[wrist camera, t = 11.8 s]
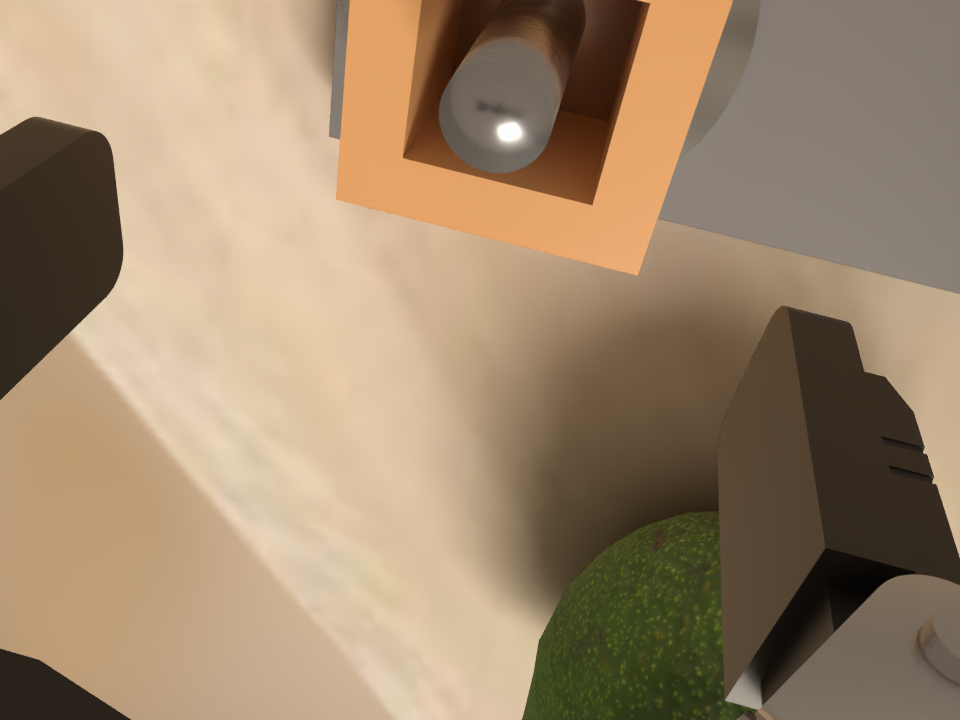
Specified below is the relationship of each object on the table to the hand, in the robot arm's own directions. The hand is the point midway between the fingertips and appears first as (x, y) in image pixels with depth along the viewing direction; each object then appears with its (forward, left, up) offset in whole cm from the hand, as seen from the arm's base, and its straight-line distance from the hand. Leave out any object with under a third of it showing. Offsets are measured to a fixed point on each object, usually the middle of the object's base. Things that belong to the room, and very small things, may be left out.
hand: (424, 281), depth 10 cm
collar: (0, 0, -10) cm, 10 cm away
